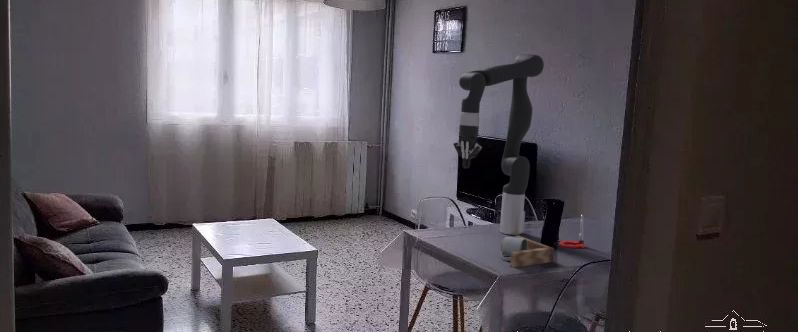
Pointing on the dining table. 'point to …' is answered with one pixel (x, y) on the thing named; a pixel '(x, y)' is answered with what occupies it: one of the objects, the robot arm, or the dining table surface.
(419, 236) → the dining table surface
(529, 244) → the corner walls
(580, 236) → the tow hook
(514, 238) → the ceramic mug
